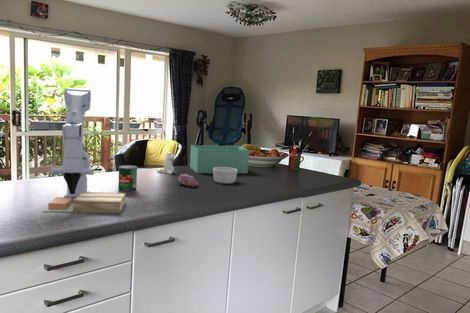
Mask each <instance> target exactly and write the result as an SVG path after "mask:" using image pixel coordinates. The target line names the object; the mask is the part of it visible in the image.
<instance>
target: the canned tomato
mask: <svg viewBox="0 0 470 313" xmlns="http://www.w3.org/2000/svg"><path fill="white" fill-rule="evenodd" d="M137 179H138V166H137V165H131V164H127V165H125V164H124V165H119V166H118V185H117V188H118V189H117V190H118V193H123V192H124V193H125V194H129V193H130V192H131V193H136V191H137Z"/></svg>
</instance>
